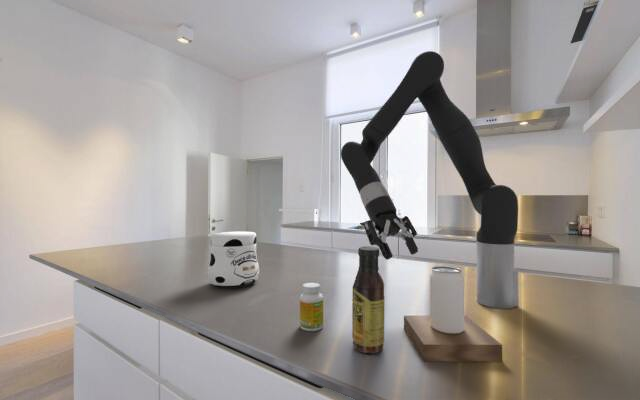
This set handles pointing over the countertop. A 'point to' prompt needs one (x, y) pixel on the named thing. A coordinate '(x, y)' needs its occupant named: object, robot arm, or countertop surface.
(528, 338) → the countertop surface
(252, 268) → the milk container
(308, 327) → the supplement bottle
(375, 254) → the sauce bottle
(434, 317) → the can
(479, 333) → the plinth
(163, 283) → the countertop surface
